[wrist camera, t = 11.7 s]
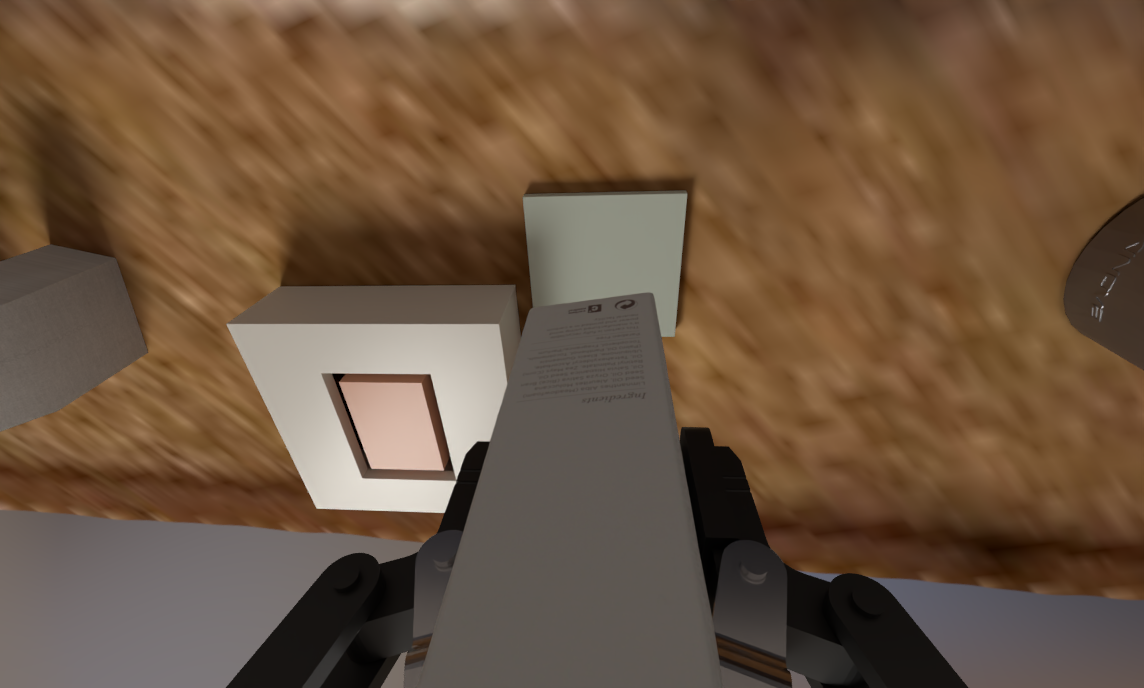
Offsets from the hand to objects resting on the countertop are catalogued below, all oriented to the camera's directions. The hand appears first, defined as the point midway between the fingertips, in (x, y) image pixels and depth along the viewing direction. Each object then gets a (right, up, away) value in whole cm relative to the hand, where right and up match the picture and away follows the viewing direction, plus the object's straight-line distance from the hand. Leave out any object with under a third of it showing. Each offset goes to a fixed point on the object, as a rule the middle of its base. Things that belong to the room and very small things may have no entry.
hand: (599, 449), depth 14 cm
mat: (+1, +7, +12) cm, 14 cm away
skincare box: (0, +2, +3) cm, 4 cm away
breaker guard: (-11, 0, +17) cm, 20 cm away
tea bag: (-30, +6, +16) cm, 34 cm away
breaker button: (-11, 0, +17) cm, 20 cm away
